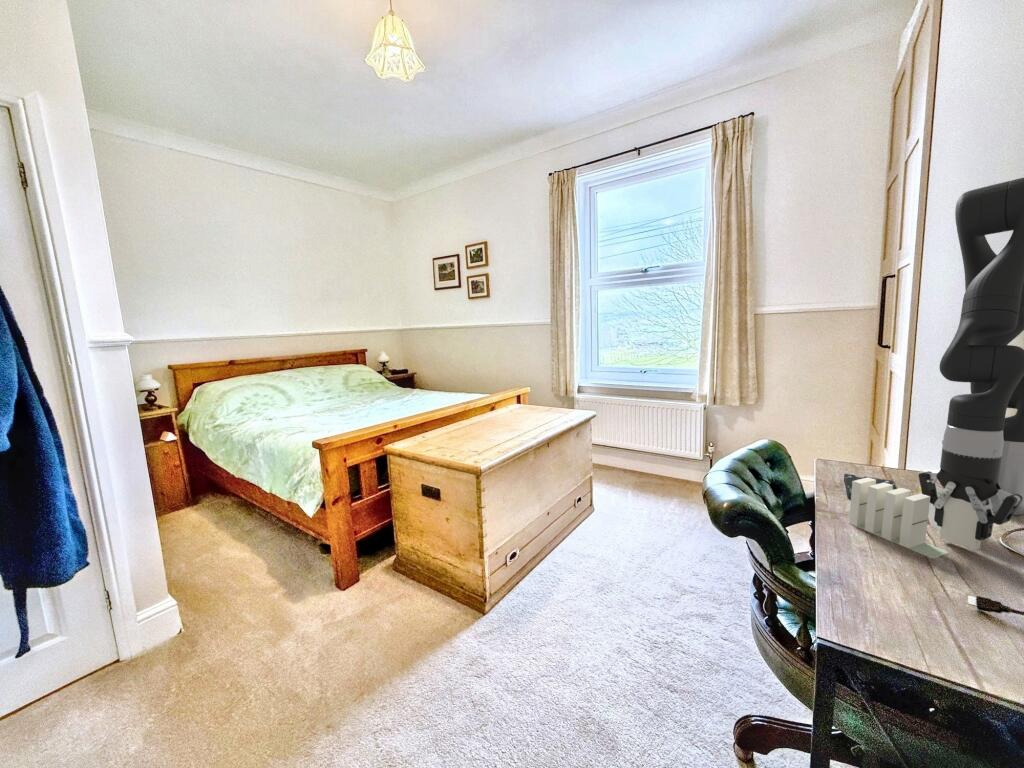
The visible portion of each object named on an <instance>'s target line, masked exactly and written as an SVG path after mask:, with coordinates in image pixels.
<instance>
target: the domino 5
mask: <svg viewBox="0 0 1024 768" xmlns="http://www.w3.org/2000/svg"><path fill="white" fill-rule="evenodd" d="M981 504H982V505H985V504H986V500H985V501H983V502H981ZM977 521H979V519H978V516H977V513H976V511H975V510H974V509H973V507H972V504H971V503H969V502H966V501H964V500H962V499H956V498H952V497H951V496H950V497H949V500H948V501H947V502H946V504H945V505H944V516H943V524H942V528H941V531H940V539H942V540H945V541H947V542H950V543H953V544H955V545H957V546H961V547H963V548H966V549H969V550H971V551H974V552H976V551H978V550H980V548H981V542H982V541H980V540H977V539H975V534H976V526H977Z"/></svg>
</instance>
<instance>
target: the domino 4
mask: <svg viewBox="0 0 1024 768" xmlns="http://www.w3.org/2000/svg"><path fill="white" fill-rule="evenodd" d="M929 505H930V496H927V495H924V494H918V493H917V494H913V495H911V496H909V497H905V498H904V504H903V513H902V523H901V532H900V541H899V544H900V545H899V544H898V545H899V546H902V545H903V546H902V547H904V546H905V547H904V548H906V547H907V549H909V548H911V547H914V546H917V545H920V544H923V543H926V538H927V537H926V536H927V531H928V530H927V529H928V523H927V521H928V513H929Z"/></svg>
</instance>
